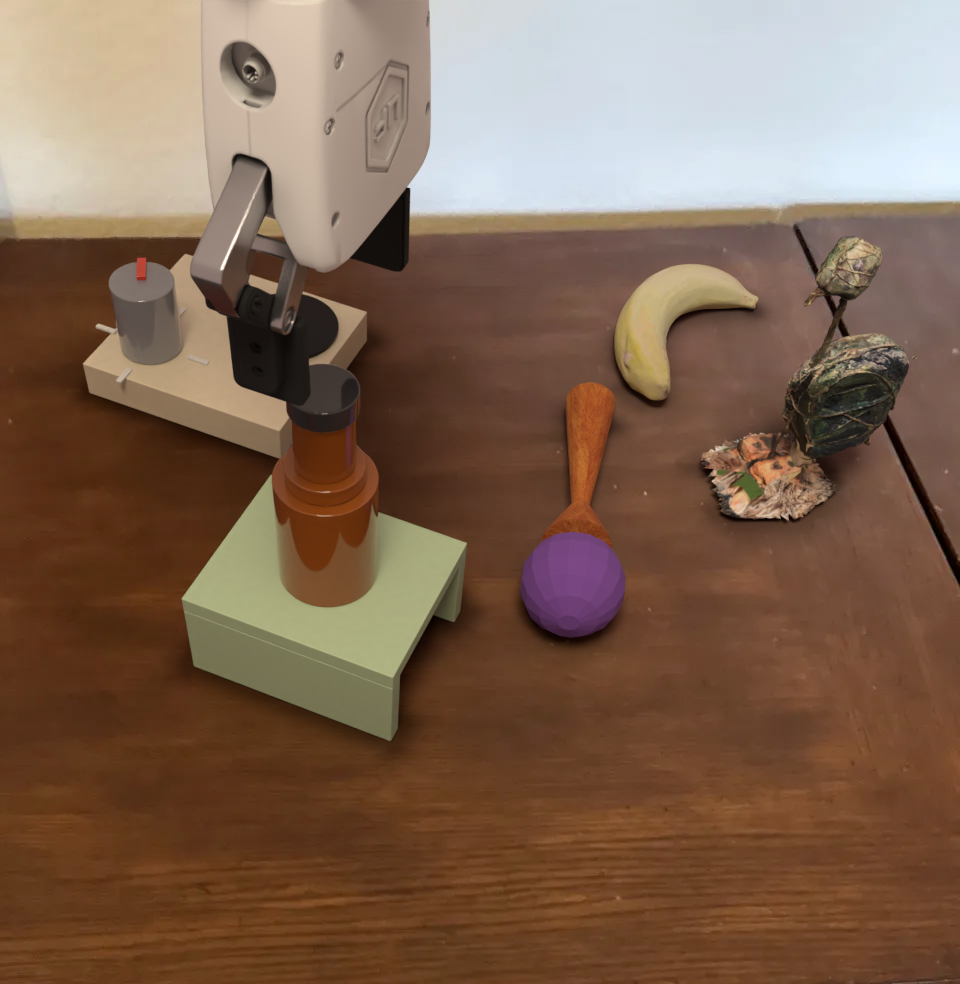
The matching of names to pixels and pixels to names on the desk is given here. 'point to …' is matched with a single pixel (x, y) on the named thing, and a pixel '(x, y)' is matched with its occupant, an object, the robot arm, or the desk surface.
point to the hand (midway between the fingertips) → (325, 323)
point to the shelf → (321, 619)
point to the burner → (318, 324)
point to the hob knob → (146, 312)
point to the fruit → (668, 320)
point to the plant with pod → (816, 405)
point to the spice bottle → (326, 496)
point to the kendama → (577, 534)
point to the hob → (211, 372)
